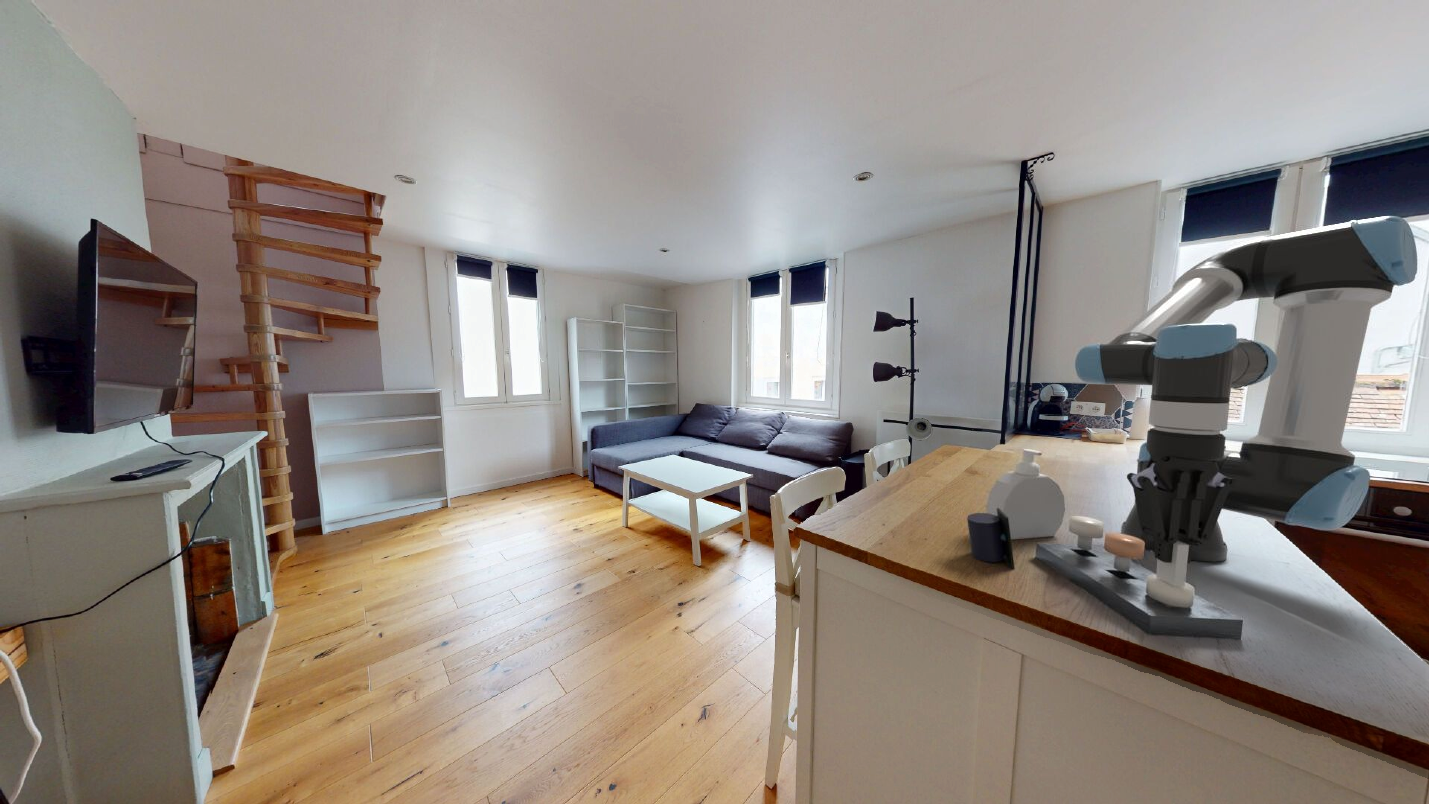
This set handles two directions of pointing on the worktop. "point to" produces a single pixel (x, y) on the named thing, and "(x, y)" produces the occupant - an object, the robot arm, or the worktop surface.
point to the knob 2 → (1169, 593)
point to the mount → (1136, 594)
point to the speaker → (990, 537)
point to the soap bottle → (1028, 500)
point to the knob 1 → (1086, 530)
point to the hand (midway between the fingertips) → (1169, 581)
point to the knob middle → (1124, 549)
